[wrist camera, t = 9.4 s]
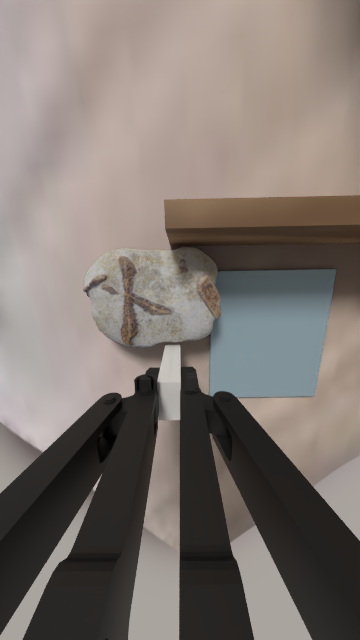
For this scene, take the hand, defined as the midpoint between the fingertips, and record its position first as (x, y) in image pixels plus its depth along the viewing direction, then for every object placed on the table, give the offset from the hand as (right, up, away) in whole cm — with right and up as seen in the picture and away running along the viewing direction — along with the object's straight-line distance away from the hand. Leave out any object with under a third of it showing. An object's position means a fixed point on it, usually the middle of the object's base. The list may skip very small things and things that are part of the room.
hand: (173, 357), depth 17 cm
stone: (+2, +3, +2) cm, 4 cm away
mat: (+10, +2, +2) cm, 10 cm away
